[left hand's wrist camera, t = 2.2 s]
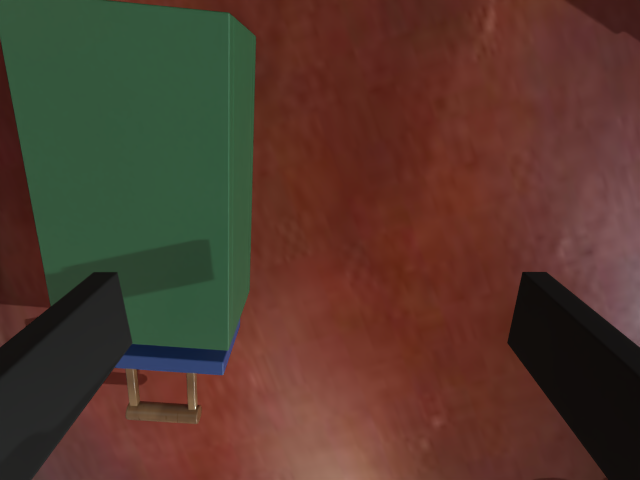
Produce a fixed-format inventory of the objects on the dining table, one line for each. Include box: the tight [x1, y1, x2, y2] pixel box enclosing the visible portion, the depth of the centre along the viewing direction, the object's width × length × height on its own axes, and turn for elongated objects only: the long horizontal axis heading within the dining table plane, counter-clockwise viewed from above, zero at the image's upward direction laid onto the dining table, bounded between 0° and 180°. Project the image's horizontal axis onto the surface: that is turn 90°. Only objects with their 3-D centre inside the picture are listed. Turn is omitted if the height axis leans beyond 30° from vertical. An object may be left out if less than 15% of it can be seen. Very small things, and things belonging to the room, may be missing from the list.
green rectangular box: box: [0, 0, 256, 351], centre depth 26 cm, size 20×11×8 cm, turn 175°
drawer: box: [114, 319, 240, 424], centre depth 28 cm, size 25×10×6 cm, turn 175°
